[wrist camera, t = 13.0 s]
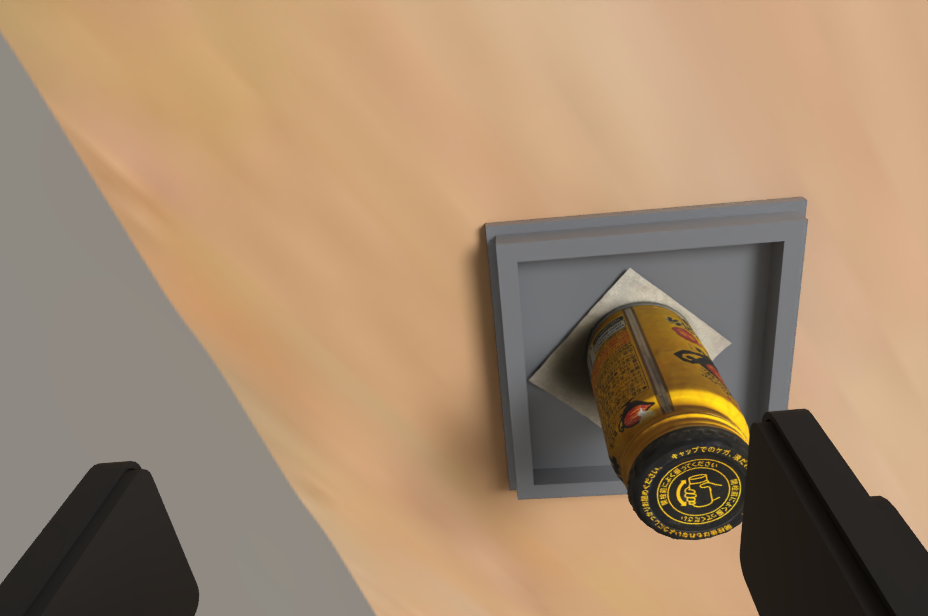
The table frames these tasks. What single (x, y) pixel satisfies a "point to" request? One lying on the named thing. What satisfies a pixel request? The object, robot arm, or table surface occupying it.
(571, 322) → the dock
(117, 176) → the table surface
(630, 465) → the condiment
